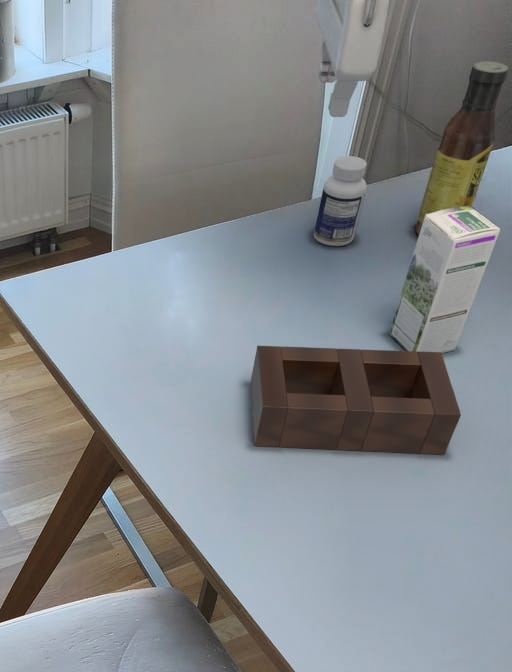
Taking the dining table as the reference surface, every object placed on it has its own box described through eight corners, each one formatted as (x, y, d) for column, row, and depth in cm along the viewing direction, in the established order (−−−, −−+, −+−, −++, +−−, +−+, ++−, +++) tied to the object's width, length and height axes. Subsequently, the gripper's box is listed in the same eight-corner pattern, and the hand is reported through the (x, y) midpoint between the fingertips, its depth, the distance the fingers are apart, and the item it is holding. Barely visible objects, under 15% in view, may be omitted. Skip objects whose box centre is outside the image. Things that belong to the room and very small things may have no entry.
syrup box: (456, 350, 102) (505, 227, 91) (411, 360, 101) (455, 236, 90) (429, 325, 106) (472, 202, 94) (385, 334, 105) (423, 212, 93)
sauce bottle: (460, 247, 117) (520, 79, 101) (411, 241, 118) (463, 75, 103) (461, 224, 121) (519, 59, 105) (414, 219, 122) (464, 55, 107)
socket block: (426, 391, 97) (441, 351, 94) (444, 454, 91) (461, 414, 87) (249, 384, 99) (257, 345, 95) (254, 446, 92) (262, 406, 89)
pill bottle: (322, 224, 122) (339, 149, 114) (359, 234, 120) (379, 159, 112) (306, 240, 119) (322, 165, 112) (343, 251, 117) (363, 175, 110)
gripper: (417, -31, 78) (375, 136, 89) (382, -90, 91) (349, 62, 101) (344, -30, 78) (311, 136, 89) (319, -89, 91) (293, 63, 102)
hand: (331, 96), depth 95 cm, fingers open, 8 cm apart
